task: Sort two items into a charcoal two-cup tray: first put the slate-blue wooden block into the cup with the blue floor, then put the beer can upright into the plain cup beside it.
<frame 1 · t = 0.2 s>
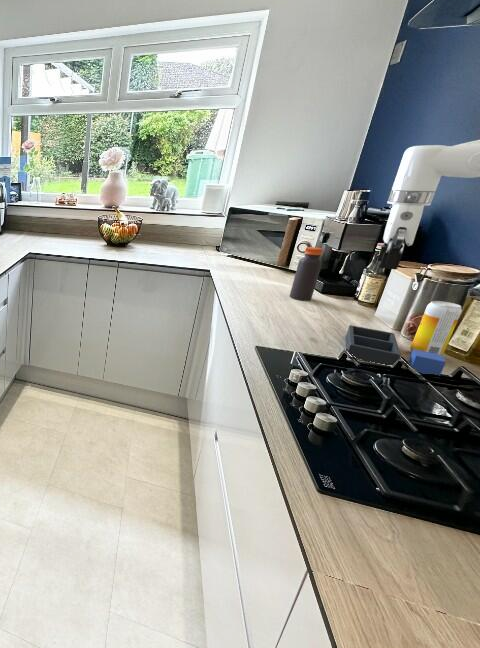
hand: (386, 265, 105), 25 cm above the worktop, tool pointing down, fingers open, 9 cm apart
blue block: (421, 372, 101), on the worktop
beer can: (424, 355, 110), on the worktop
sorting tray: (368, 350, 113), on the worktop
bottle: (299, 298, 157), on the worktop
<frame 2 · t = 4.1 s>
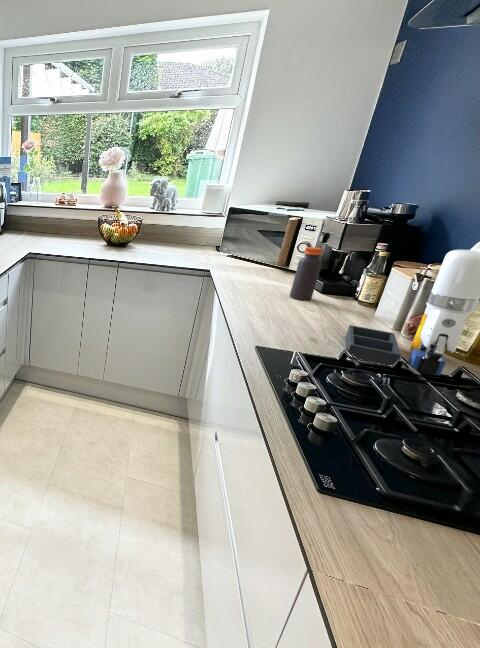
hand: (423, 369, 101), 1 cm above the worktop, tool pointing down, fingers closed on blue block, 5 cm apart
blue block: (421, 372, 101), on the worktop, touching gripper
everything else where it was.
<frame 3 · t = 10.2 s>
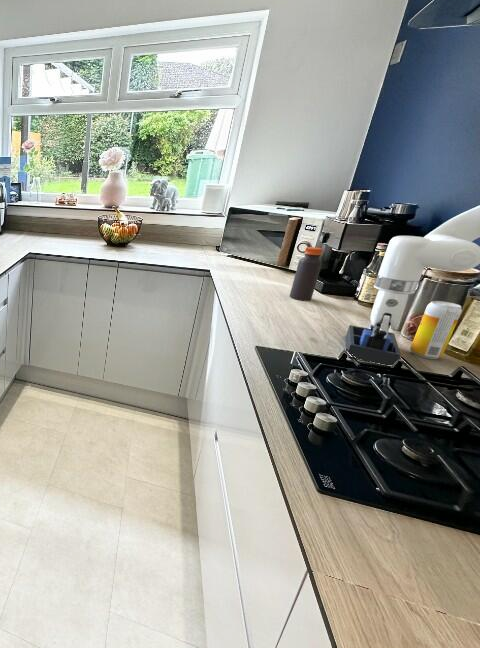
hand: (372, 347, 109), 3 cm above the worktop, tool pointing down, fingers closed on blue block, 5 cm apart
blue block: (370, 350, 109), point 2 cm above the worktop, touching gripper
everything else where it was.
when the fingers open (3 cm above the worktop, at t = 14.8 s): blue block drops 1 cm, resting on sorting tray.
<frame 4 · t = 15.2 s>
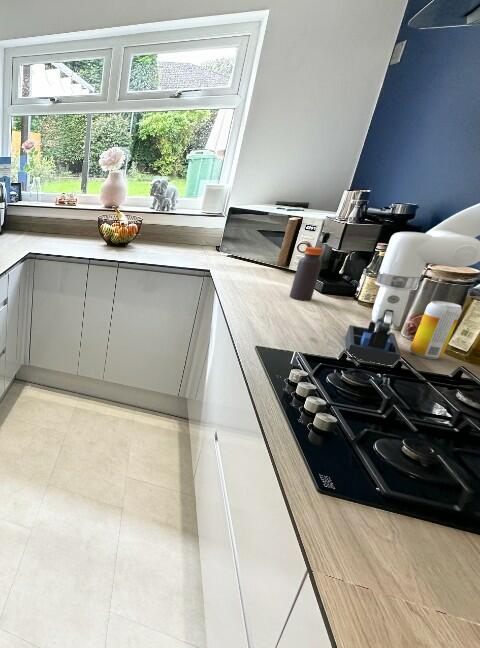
hand: (374, 341, 108), 4 cm above the worktop, tool pointing down, fingers open, 8 cm apart
blue block: (370, 353, 109), point 1 cm above the worktop, touching sorting tray
everything else where it was.
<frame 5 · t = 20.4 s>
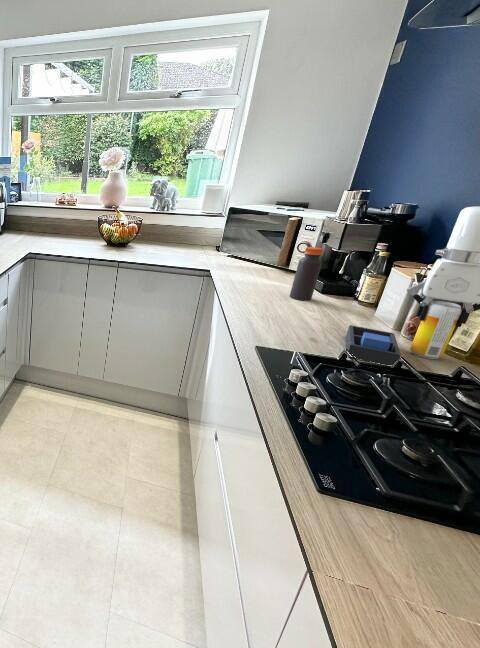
hand: (438, 321, 107), 10 cm above the worktop, tool pointing down, fingers closed on beer can, 6 cm apart
beer can: (424, 355, 110), on the worktop, touching gripper
everything else where it was.
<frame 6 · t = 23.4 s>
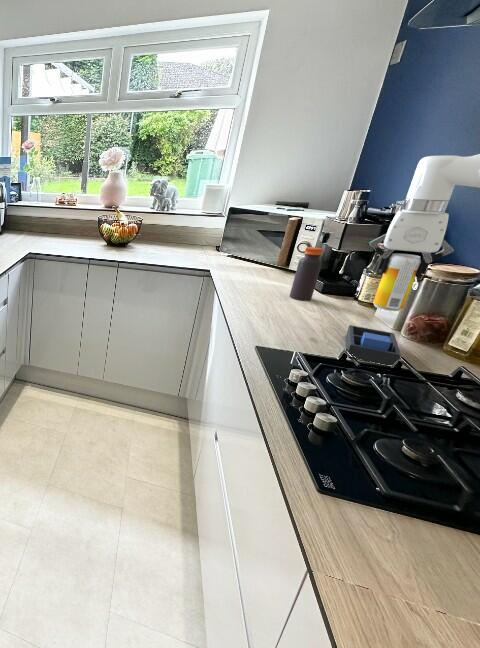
hand: (399, 273, 108), 22 cm above the worktop, tool pointing down, fingers closed on beer can, 6 cm apart
beer can: (386, 308, 112), point 12 cm above the worktop, touching gripper
everything else where it was.
when the fingers open (11 cm above the worktop, at t = 26.4 s): beer can stays where it is, resting on sorting tray.
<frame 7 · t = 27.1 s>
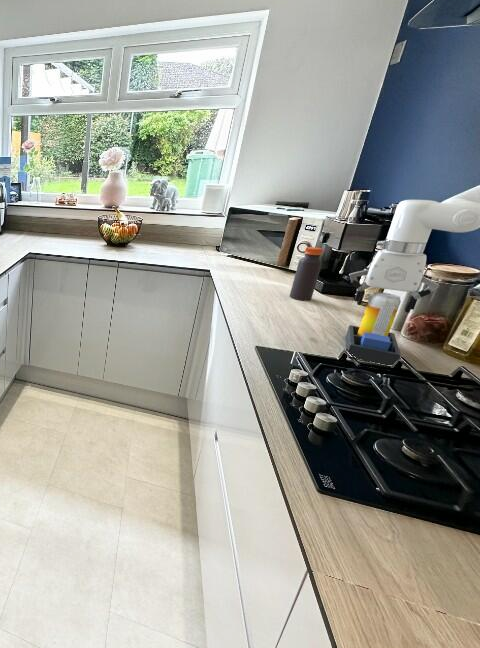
hand: (382, 307, 112), 12 cm above the worktop, tool pointing down, fingers open, 9 cm apart
beer can: (368, 344, 116), resting on sorting tray
everything else where it was.
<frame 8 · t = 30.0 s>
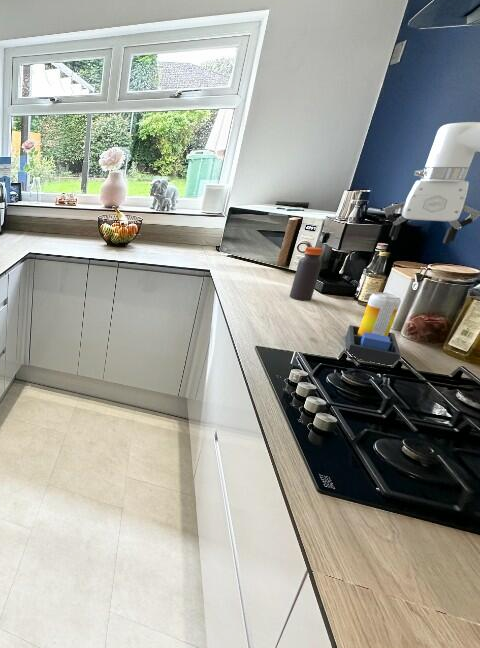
hand: (418, 241, 108), 30 cm above the worktop, tool pointing down, fingers open, 9 cm apart
nothing on the worktop moved.
at the end: blue block 0.5 cm from the target spot in the sorting tray, point 0.8 cm above the sorting tray's base; beer can 0.1 cm from the target spot in the sorting tray, point 0.4 cm above the sorting tray's base; beer can tilted 0° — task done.
